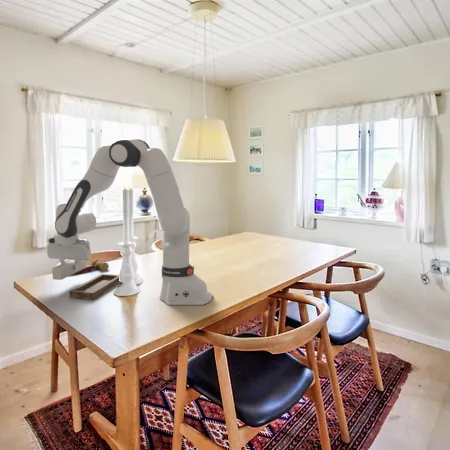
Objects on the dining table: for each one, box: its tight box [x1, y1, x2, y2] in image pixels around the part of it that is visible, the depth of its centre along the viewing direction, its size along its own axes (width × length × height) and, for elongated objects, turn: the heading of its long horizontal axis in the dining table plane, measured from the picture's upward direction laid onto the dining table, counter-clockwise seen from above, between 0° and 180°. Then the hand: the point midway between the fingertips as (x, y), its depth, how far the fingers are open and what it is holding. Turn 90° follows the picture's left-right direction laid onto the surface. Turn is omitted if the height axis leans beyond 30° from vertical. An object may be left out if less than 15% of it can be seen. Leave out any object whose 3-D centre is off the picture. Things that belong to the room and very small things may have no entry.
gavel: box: [70, 259, 110, 276], centre depth 189 cm, size 21×5×10 cm
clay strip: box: [51, 259, 87, 281], centre depth 164 cm, size 4×20×5 cm, turn 171°
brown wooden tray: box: [68, 273, 120, 301], centre depth 162 cm, size 11×26×3 cm, turn 169°
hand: (70, 268), depth 164 cm, fingers closed on clay strip, 4 cm apart
